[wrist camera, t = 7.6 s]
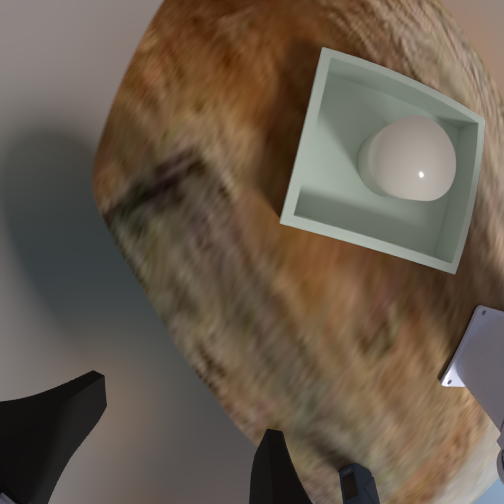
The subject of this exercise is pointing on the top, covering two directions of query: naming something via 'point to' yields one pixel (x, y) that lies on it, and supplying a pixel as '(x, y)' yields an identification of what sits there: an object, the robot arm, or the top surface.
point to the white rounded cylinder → (408, 160)
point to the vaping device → (358, 486)
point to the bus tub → (347, 175)
